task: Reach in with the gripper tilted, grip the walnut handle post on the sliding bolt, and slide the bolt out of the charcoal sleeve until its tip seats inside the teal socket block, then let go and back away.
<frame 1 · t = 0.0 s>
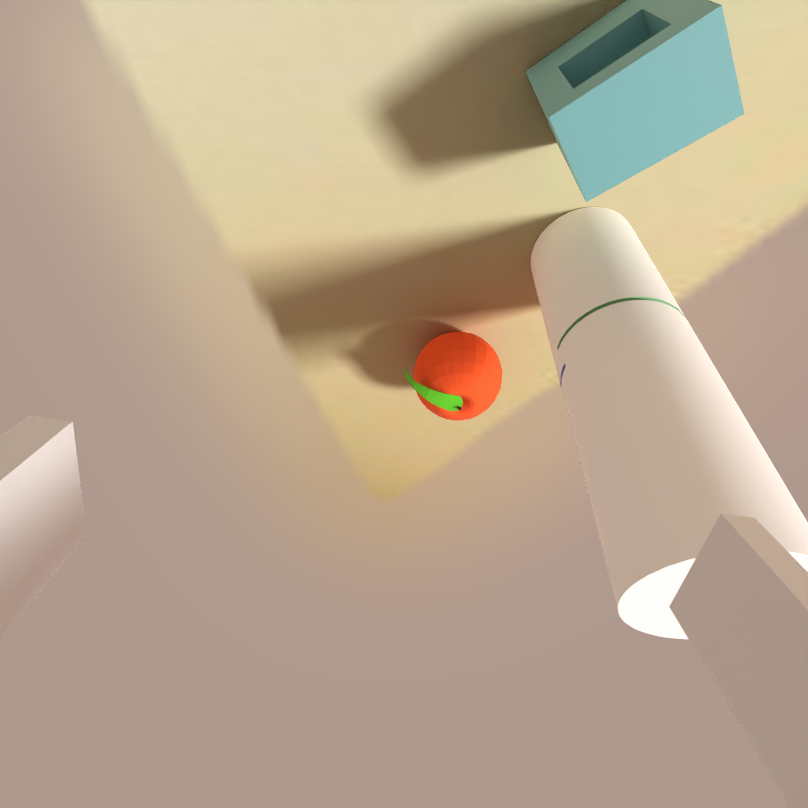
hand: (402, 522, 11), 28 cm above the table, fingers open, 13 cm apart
end socket: (601, 69, 28), on the table
cylindrical container: (581, 254, 36), on the table
clementine: (450, 345, 43), on the table
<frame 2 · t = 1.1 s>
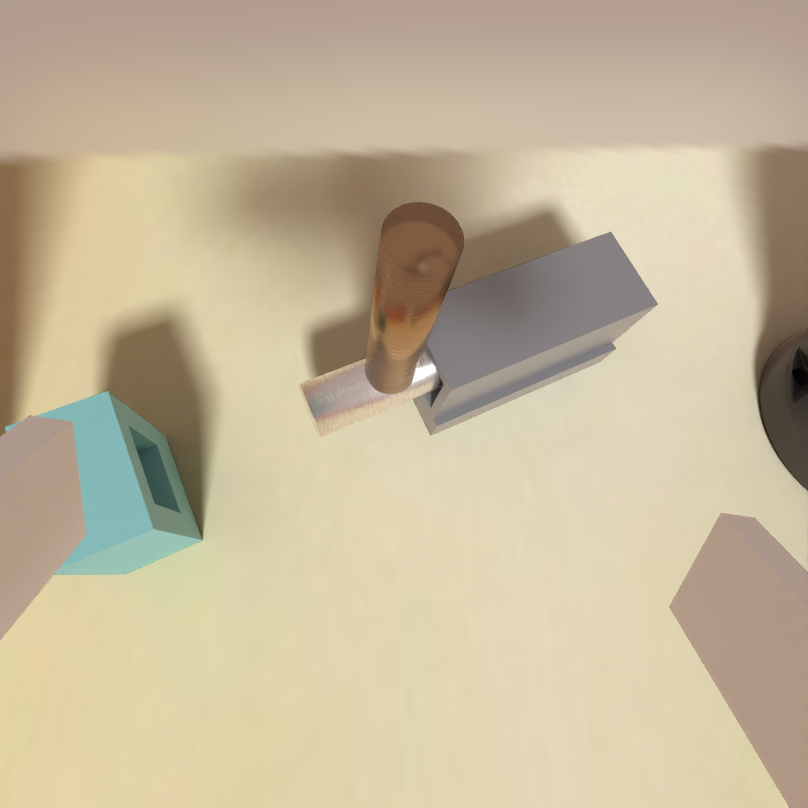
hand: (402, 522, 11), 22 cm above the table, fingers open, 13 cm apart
sliding bolt: (475, 306, 25), point 11 cm above the table, slide at 0.0 cm
outer sleeve: (497, 357, 37), on the table
end socket: (146, 502, 31), on the table
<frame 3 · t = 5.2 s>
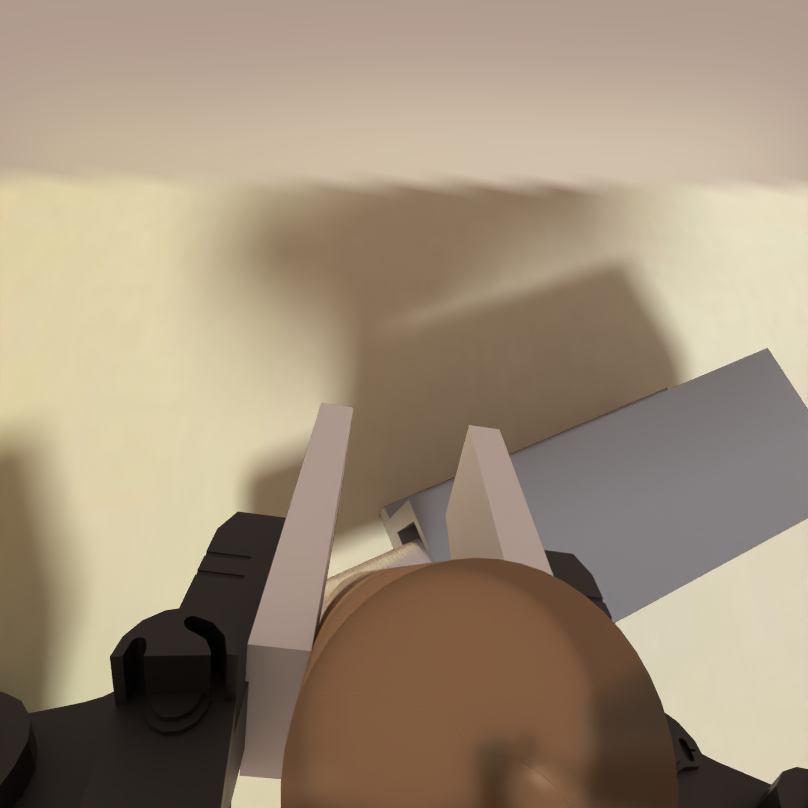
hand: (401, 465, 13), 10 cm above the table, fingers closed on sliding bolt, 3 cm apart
sliding bolt: (555, 556, 12), point 11 cm above the table, slide at 0.0 cm, touching gripper
outer sleeve: (549, 519, 23), on the table
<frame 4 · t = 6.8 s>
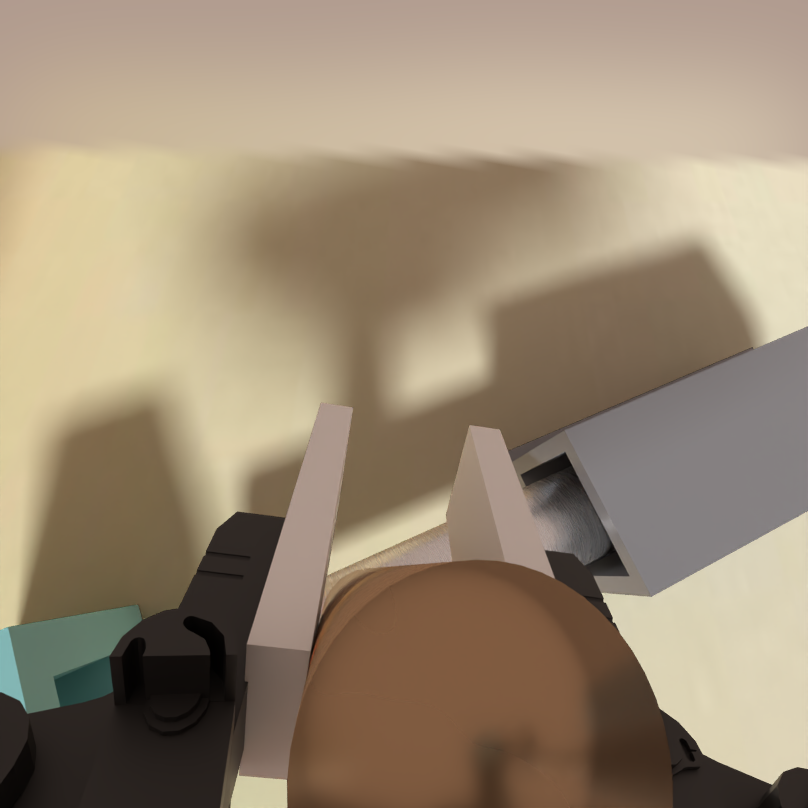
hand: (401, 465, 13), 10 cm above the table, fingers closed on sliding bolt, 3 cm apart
sliding bolt: (552, 554, 12), point 11 cm above the table, slide at 5.5 cm, touching gripper
outer sleeve: (643, 470, 25), on the table
end socket: (100, 726, 19), on the table
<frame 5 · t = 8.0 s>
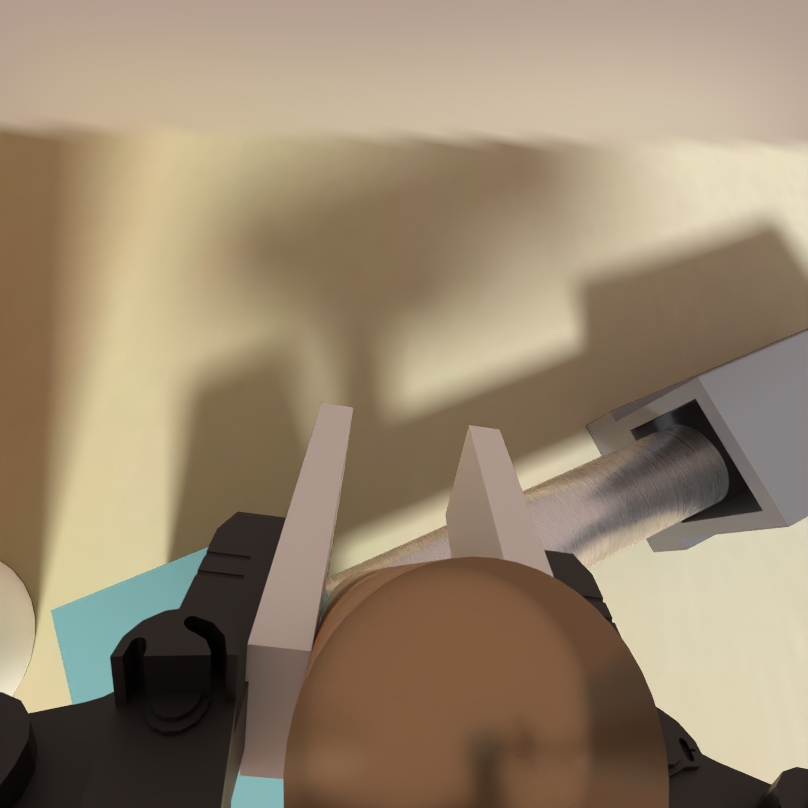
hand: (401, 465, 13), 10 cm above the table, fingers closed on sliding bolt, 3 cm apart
sliding bolt: (553, 556, 12), point 11 cm above the table, slide at 10.9 cm, touching gripper
outer sleeve: (731, 434, 26), on the table
end socket: (247, 659, 20), on the table
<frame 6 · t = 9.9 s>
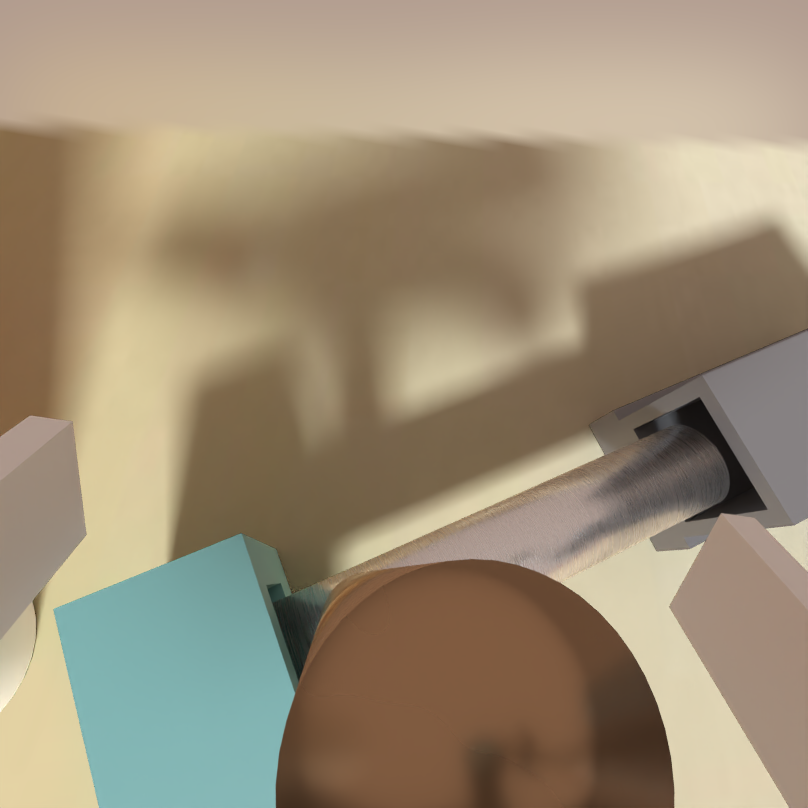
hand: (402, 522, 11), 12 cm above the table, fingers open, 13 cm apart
sliding bolt: (554, 557, 12), point 11 cm above the table, slide at 11.0 cm
outer sleeve: (734, 433, 26), on the table
end socket: (249, 659, 20), on the table
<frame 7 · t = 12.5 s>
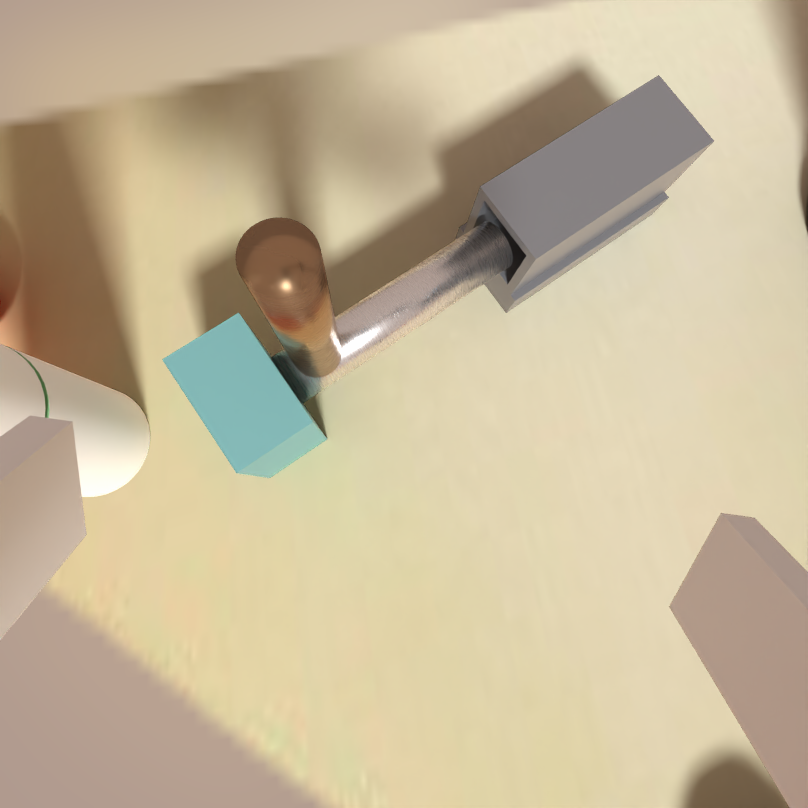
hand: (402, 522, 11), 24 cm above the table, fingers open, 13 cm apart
sliding bolt: (379, 282, 25), point 11 cm above the table, slide at 11.0 cm
outer sleeve: (554, 228, 38), on the table
end socket: (270, 415, 34), on the table
cylindrical container: (95, 441, 34), on the table
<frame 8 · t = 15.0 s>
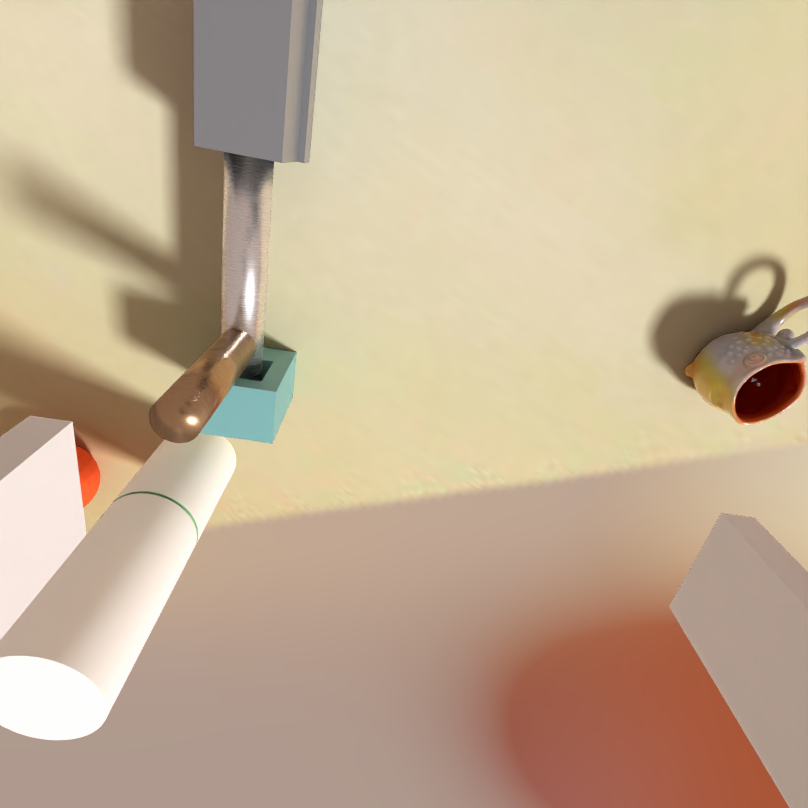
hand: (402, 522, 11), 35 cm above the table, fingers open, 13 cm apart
sliding bolt: (219, 309, 33), point 11 cm above the table, slide at 11.0 cm
outer sleeve: (272, 44, 36), on the table
end socket: (255, 369, 46), on the table
mug: (744, 341, 46), on the table
cylindrical container: (200, 455, 51), on the table
clementine: (75, 454, 50), on the table
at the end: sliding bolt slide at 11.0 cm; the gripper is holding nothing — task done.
